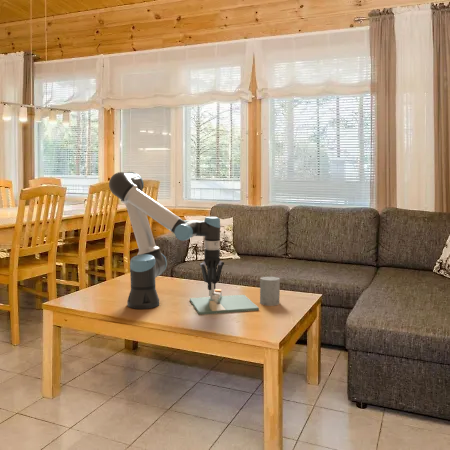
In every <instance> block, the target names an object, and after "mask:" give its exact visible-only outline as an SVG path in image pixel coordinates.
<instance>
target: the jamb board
mask: <svg viewBox="0 0 450 450" xmlns="http://www.w3.org/2000/svg"><path fill="white" fill-rule="evenodd" d="M189 302H190V303H191V305H192V306H193V308H194V309H195V311H196V312H197V314H198V315H212V314H213V315H214V314H227V313H239V312H254V311H260V308H259V306H258V305H257V304H255V303H254V302H253V301H252V300H251V299H250V298H249V297H247V296H246V294H238V295H237V294H236V295H235V294H234V295H233V294H232V295H222V297H221V299H220V303H219V304H216V303H215V302H214V301H210V296H206V297H205V296H202V297H190V298H189Z"/></svg>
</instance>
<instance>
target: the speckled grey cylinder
mask: <svg viewBox="0 0 450 450" xmlns="http://www.w3.org/2000/svg"><path fill="white" fill-rule="evenodd" d="M280 281H281V279H280V277H279V276H274V275H266V276H265V275H263V276H260V278H259V282H260V284H259V304H260V305H262V306H267V307H268V306H270V307H272V306H278V305H280V297H281V295H280V290H281V289H280V287H281V283H280Z"/></svg>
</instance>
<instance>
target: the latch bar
mask: <svg viewBox="0 0 450 450" xmlns="http://www.w3.org/2000/svg"><path fill="white" fill-rule="evenodd" d="M222 293H223V290H222V288H218V289H217V288H215V289H214V293H213V294H210V296H209V297H210V301H214V302H215V303H216V304H219V303H220V299H221V297H222V296H223V294H222Z"/></svg>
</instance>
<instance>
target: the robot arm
mask: <svg viewBox="0 0 450 450" xmlns="http://www.w3.org/2000/svg"><path fill="white" fill-rule="evenodd" d="M144 186H145V185H144V180H143V178H142V176H141V175H139V174H138V173H137V172H133V171H124V172H123V171H121V172H116V173H114V174H113V175H111V177H110V178H109V181H108V187H109V190H110V192H111V193H112V195H113V196H116V197H117V198H118V199H119V200H120V202H121V203H123V204H125V208H126V210H127V214H128V217H129V221H130V224H131V228H132V231H133V234H134V238H135V240H136V244H137V247H138V252H137V255H134V256H133V257H131V258H130V261H129V262H130V264H129V269H130V270H129V271H130V292H129V293H128V297H127V304H126V305H127V307H128V308H131V309H135V310H136V309H137V310H146V309H147V310H149V309H153V308H156V307H158V306H159V305H160V298H159V295H158V291H157V289H156V278H157V277H160V276H161V275H162V274H163V273H164V272H165V270H166V269H167V265H168V262H167V258H166V256H165V255H164V254H163V253H162V251H161V247H160V246H157V245H156V242H155V238H154V235H153V231H152V227H151V226H150V225H151V224H150V221H149V219H148V217H149V218H151V219H152V220H154V221H156V222H157V223H158V224H160V225H161V226H162V227H164V228H166V230H169V231H170V232H171V233H172V234H174V236H175V239H177V240H179V241H182V242H183V241H188V240H190V239H191V238H193V237H204V251H203V252H204V256H203V257H204V259H203V261H202V263H201V262H200V263H199V264H198V265H199V266H200V268H201V273H202V277H203V281H204V283H206V284H207V290H208V297H210V294H213V293H214V292H215V289H217V288H216V286H217V285H216V284H217V283H218V282H220V279H221V275H222V270H223V267H224V265H225V262H224V261H222V260H221V258H220V256H221V219H220V218H219V217H217V216H206V217H205V218H204V220H190V219H188V220H187V219H185V220H184V219H182V218H181V217H180V216H178V215H176V214H175V213H173V212H172V211H171V210H169V209H168V208H166V206H164V205H162V204H161V203H159V202H158V201H156V200H155V199H153V198H152V197H150V196H149V195H147V194H146V193H145V192H144V191H143V189H144Z"/></svg>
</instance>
